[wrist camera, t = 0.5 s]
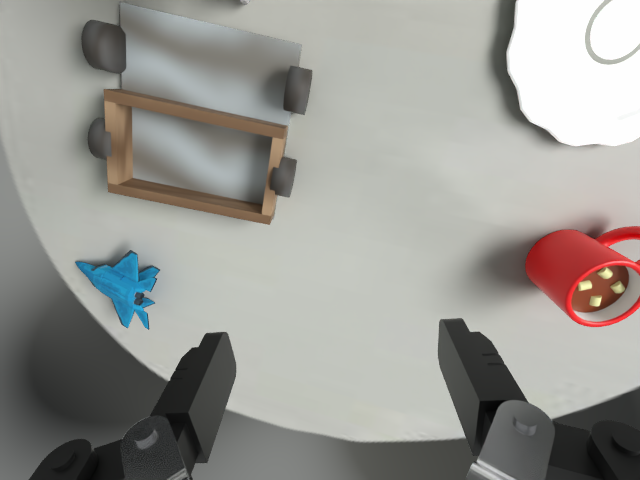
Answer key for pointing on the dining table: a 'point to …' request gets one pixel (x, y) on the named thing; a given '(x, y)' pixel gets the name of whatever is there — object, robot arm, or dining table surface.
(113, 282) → the toy airplane
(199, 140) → the chassis
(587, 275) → the mug
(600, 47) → the plate
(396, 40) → the dining table surface
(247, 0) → the robot toy
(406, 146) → the dining table surface
